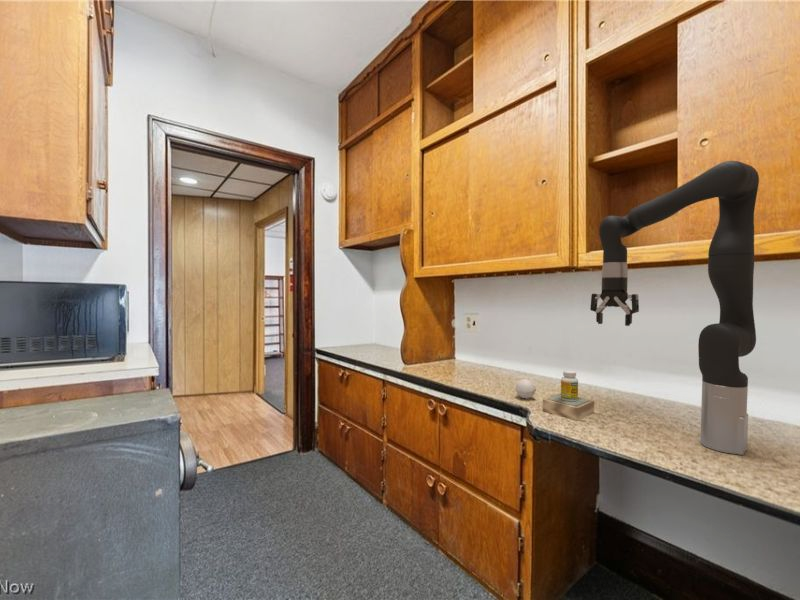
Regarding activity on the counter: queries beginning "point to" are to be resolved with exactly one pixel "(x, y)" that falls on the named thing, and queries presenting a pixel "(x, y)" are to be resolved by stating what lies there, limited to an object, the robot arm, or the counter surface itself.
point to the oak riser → (568, 407)
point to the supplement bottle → (569, 386)
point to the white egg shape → (525, 388)
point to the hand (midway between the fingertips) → (613, 324)
